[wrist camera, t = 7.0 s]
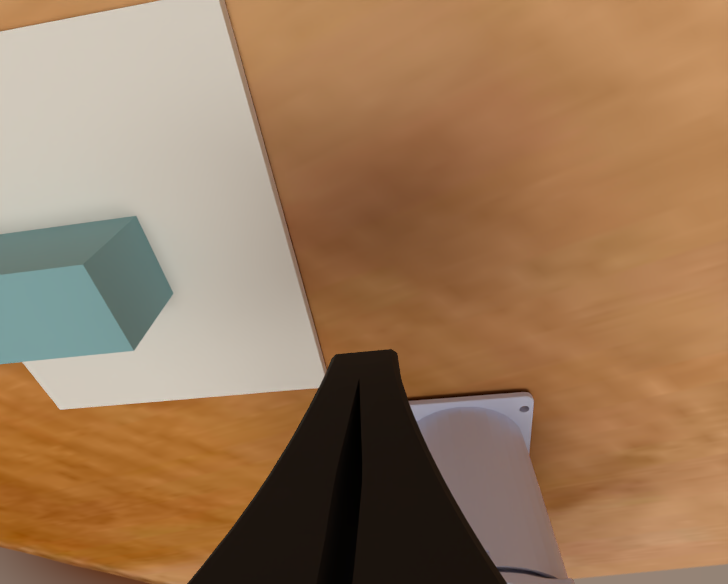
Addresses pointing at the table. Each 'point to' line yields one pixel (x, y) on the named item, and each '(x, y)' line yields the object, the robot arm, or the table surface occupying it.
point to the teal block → (78, 290)
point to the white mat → (158, 197)
